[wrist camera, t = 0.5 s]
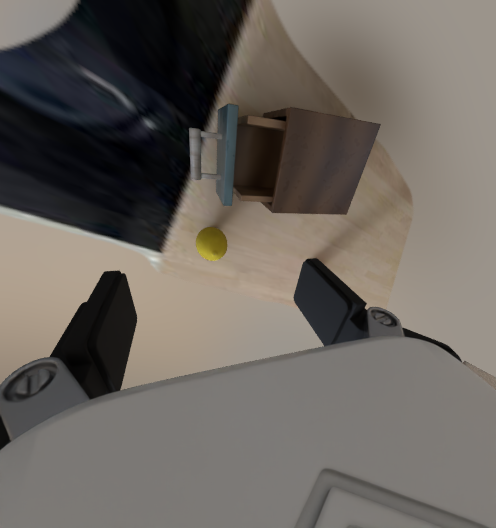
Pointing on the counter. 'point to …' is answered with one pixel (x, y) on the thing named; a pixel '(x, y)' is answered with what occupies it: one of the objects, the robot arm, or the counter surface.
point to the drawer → (241, 155)
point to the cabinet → (319, 161)
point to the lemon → (211, 243)
